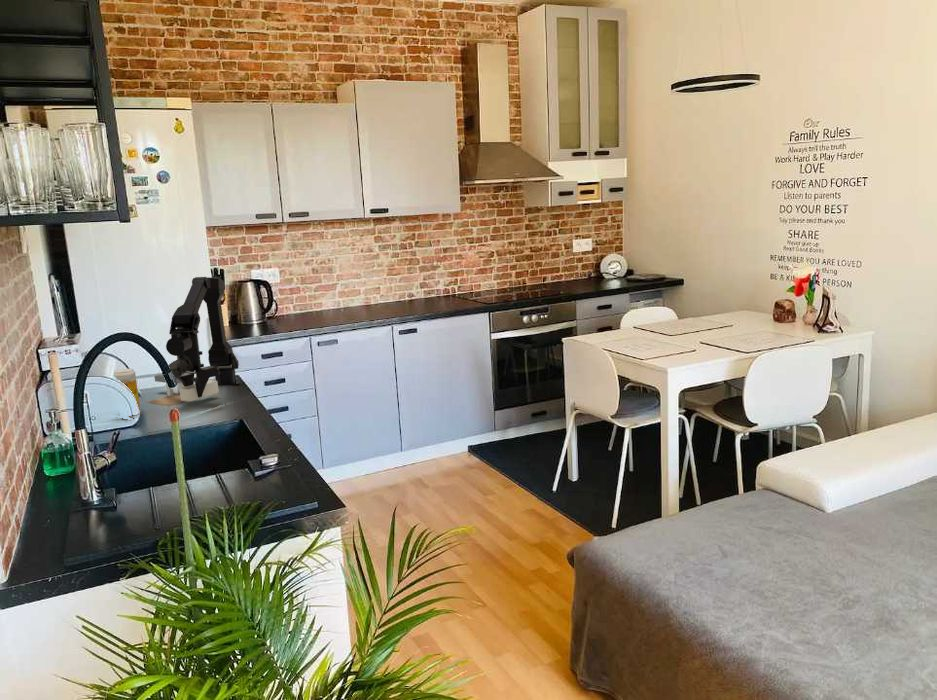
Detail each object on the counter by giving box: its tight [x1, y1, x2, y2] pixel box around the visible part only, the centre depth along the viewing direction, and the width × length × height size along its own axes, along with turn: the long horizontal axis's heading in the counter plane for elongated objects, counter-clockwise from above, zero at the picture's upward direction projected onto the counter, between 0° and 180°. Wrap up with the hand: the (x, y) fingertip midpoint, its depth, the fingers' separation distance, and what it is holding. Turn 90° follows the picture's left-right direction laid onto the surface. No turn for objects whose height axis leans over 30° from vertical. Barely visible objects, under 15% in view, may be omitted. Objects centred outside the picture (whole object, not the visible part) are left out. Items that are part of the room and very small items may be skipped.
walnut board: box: [145, 392, 186, 407], centre depth 248 cm, size 15×12×1 cm
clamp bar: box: [153, 373, 181, 385], centre depth 254 cm, size 2×11×2 cm, turn 61°
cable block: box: [179, 379, 220, 402], centre depth 241 cm, size 12×4×4 cm, turn 151°
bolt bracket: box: [165, 382, 184, 397], centre depth 253 cm, size 6×2×7 cm, turn 151°
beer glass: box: [113, 368, 142, 414], centre depth 229 cm, size 6×6×15 cm
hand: (195, 396), depth 240 cm, fingers closed on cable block, 4 cm apart
